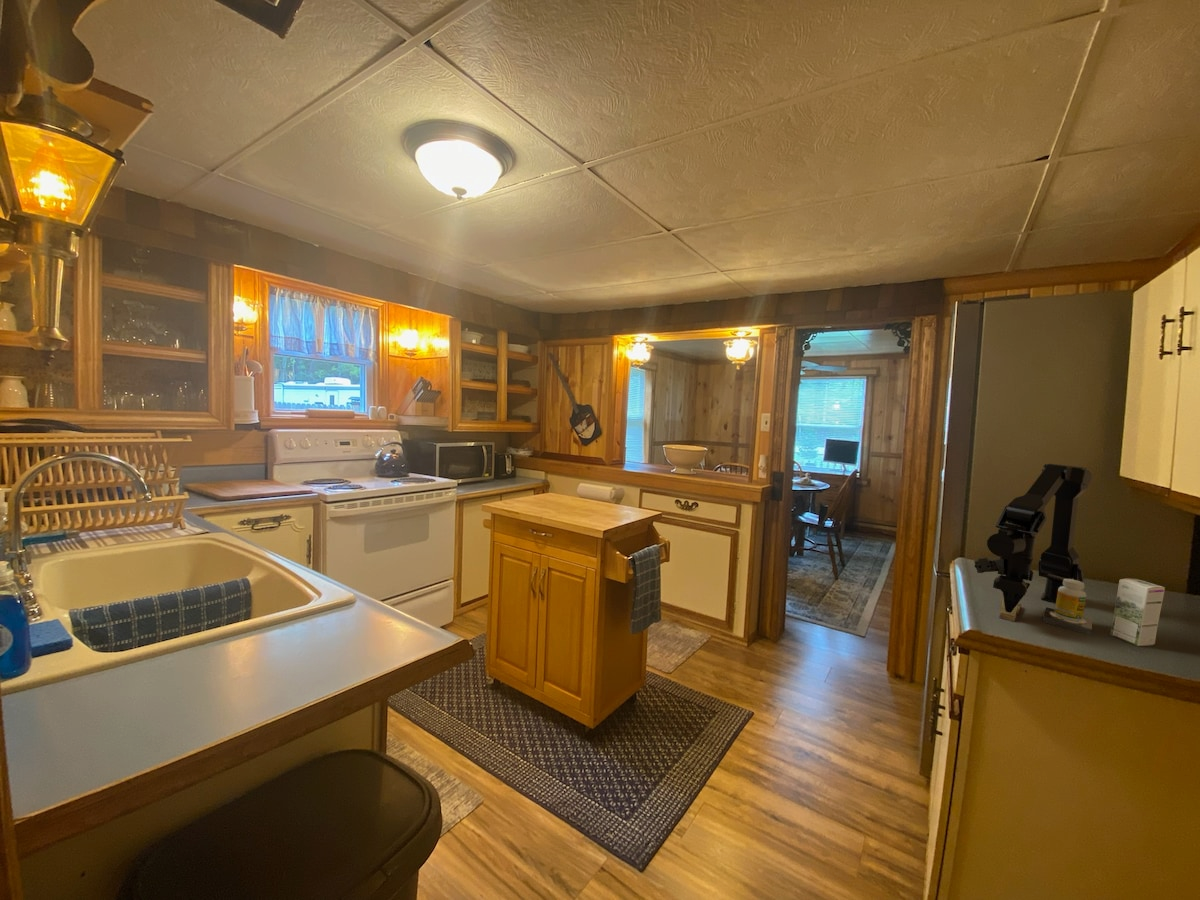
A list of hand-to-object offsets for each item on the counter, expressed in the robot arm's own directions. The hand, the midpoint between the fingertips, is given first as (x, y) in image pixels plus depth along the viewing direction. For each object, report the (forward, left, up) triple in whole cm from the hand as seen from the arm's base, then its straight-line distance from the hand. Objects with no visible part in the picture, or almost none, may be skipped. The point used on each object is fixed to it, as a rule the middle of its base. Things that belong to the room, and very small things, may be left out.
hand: (1009, 610), depth 131 cm
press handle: (0, 0, -1) cm, 1 cm away
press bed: (-9, +11, -2) cm, 14 cm away
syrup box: (-9, +23, -2) cm, 25 cm away
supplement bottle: (-9, +11, -1) cm, 14 cm away
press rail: (-5, 0, -2) cm, 5 cm away
